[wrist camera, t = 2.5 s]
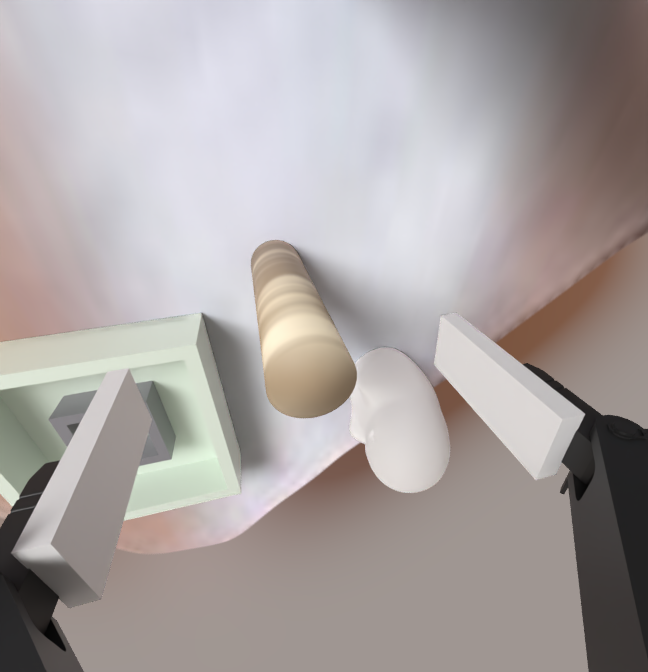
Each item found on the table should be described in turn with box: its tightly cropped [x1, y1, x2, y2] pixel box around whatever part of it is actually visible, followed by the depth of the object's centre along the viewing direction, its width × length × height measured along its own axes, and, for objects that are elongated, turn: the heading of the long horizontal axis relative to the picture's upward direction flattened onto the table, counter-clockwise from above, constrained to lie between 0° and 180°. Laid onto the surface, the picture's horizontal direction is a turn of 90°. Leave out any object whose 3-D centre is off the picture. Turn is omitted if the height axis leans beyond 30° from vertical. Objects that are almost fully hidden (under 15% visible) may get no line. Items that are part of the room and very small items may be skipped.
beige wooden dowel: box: [251, 240, 357, 418], centre depth 19 cm, size 4×4×14 cm
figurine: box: [349, 347, 450, 493], centre depth 27 cm, size 7×8×12 cm
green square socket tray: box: [0, 313, 241, 521], centre depth 26 cm, size 16×16×4 cm
